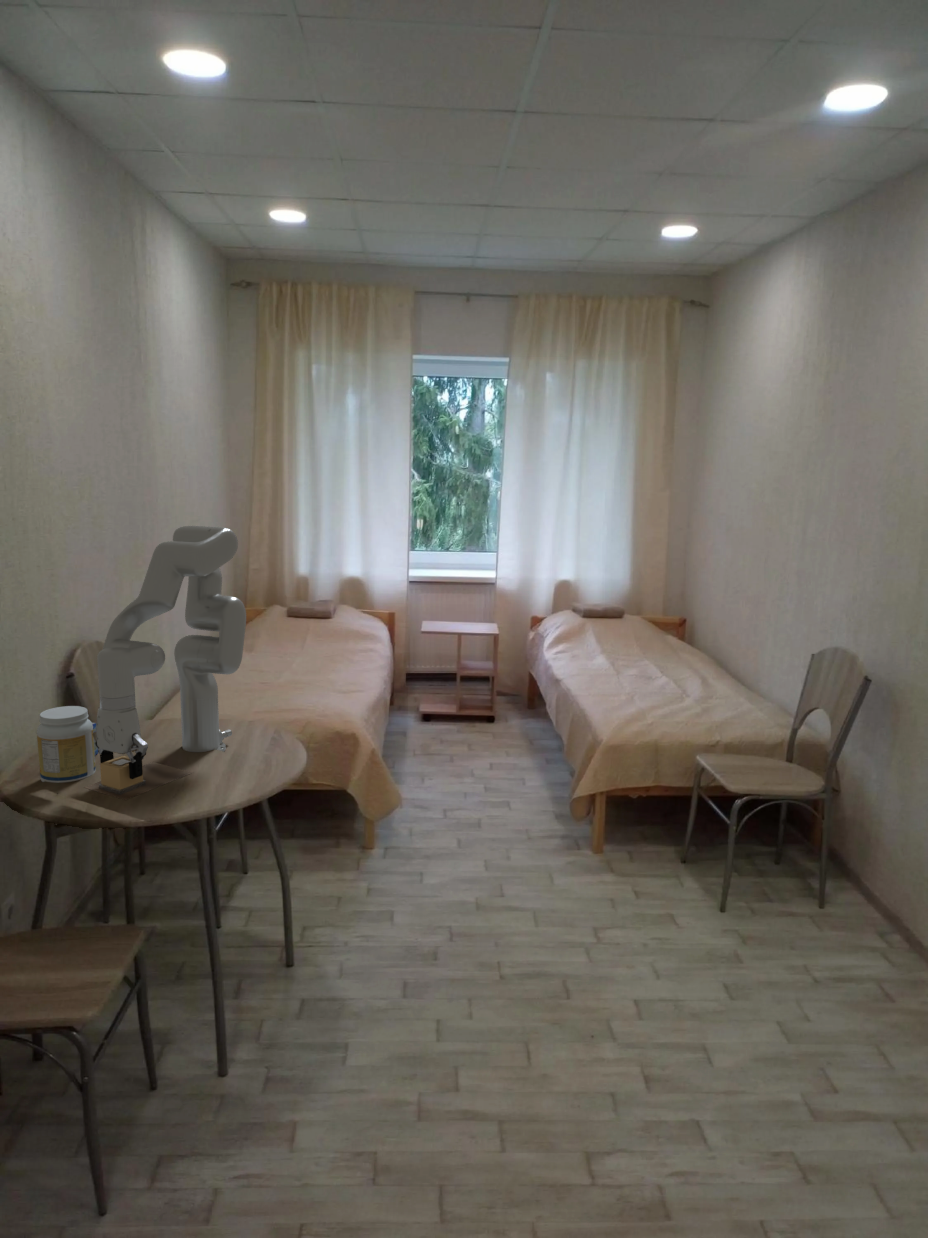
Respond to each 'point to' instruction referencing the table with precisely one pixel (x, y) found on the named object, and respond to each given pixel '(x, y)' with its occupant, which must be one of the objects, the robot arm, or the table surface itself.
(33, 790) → the table surface
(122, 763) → the grey stepped block
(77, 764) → the supplement tub
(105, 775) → the collar
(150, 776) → the board
